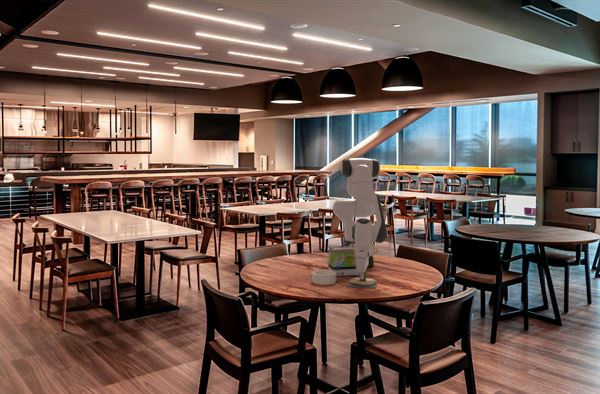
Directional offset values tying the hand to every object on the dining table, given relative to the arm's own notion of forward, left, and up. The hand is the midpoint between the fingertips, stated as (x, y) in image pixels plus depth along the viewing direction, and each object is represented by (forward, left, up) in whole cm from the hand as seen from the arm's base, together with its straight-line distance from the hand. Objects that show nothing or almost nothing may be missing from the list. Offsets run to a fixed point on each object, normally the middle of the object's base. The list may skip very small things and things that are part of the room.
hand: (362, 277), depth 259 cm
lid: (0, 0, -2) cm, 2 cm away
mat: (0, 0, -3) cm, 3 cm away
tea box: (-20, -13, -3) cm, 24 cm away
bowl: (0, -20, -3) cm, 20 cm away
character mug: (-43, -2, -3) cm, 43 cm away
